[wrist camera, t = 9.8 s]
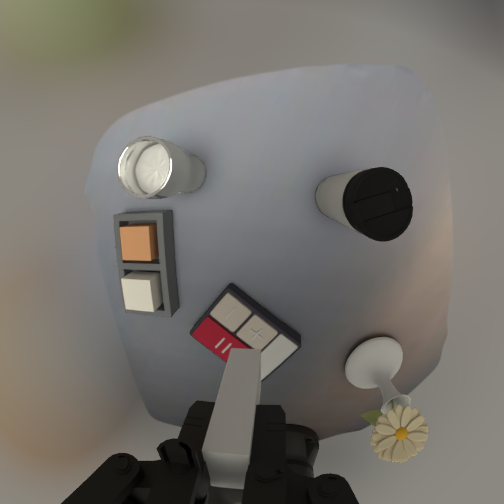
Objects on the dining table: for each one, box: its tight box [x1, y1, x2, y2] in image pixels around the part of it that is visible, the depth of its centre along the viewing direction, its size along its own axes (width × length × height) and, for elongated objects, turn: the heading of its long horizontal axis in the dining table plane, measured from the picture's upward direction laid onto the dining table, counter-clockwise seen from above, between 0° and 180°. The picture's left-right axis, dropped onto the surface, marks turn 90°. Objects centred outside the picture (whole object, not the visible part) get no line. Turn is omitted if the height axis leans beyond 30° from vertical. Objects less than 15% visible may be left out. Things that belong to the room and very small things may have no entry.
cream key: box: [121, 271, 163, 312], centre depth 40 cm, size 5×5×4 cm
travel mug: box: [315, 167, 413, 241], centre depth 30 cm, size 6×7×20 cm
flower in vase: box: [345, 337, 429, 463], centre depth 33 cm, size 13×11×25 cm
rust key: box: [120, 223, 159, 261], centre depth 40 cm, size 5×5×4 cm
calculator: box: [190, 283, 301, 382], centre depth 44 cm, size 11×4×15 cm
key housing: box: [113, 210, 179, 317], centre depth 42 cm, size 16×9×4 cm, turn 0°
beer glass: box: [117, 136, 206, 199], centre depth 33 cm, size 7×7×15 cm
